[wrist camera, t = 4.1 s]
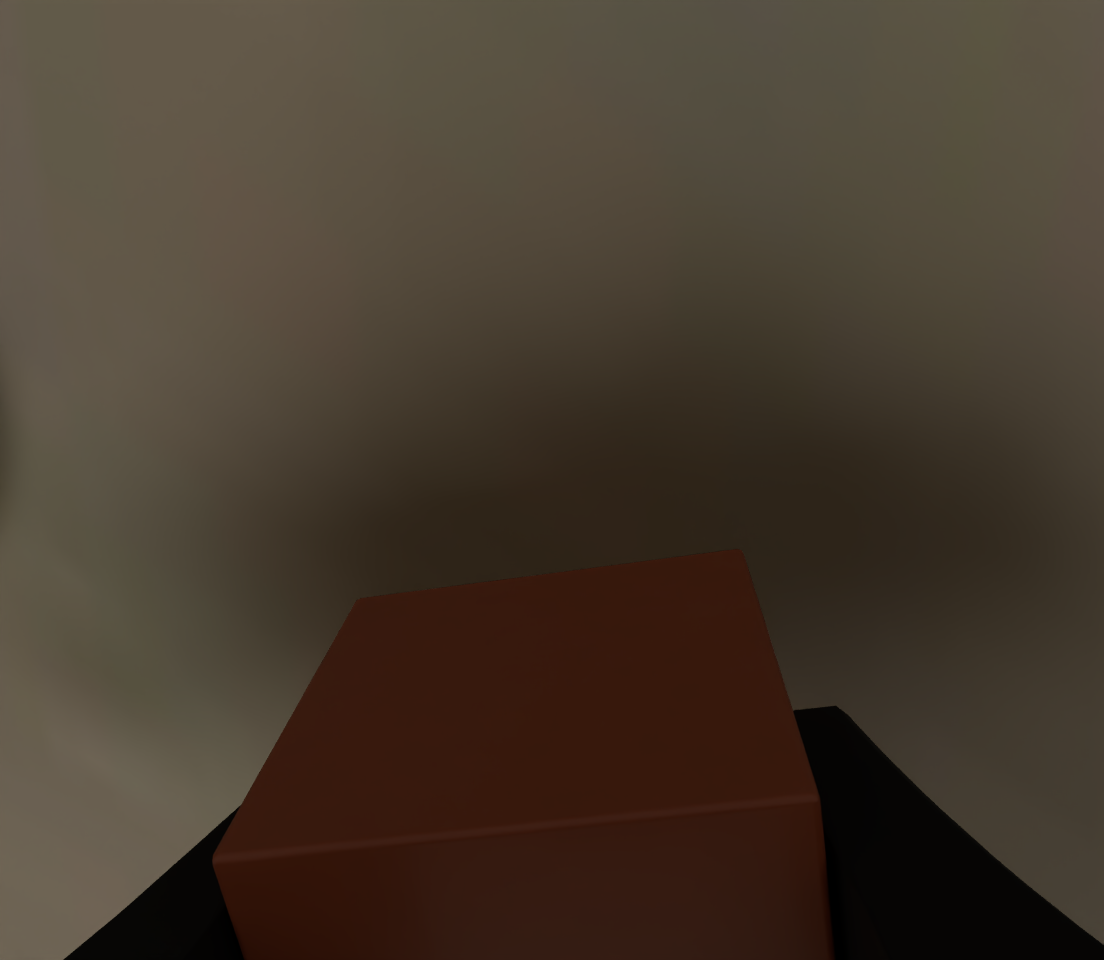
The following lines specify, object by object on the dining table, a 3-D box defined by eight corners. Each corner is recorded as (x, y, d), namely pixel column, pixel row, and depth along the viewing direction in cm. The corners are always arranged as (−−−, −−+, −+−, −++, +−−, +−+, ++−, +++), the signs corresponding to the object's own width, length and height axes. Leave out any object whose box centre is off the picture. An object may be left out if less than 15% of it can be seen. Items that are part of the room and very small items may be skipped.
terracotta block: (741, 545, 10) (822, 795, 6) (780, 872, 11) (865, 1249, 7) (355, 596, 10) (205, 859, 7) (434, 906, 12) (346, 1276, 8)
